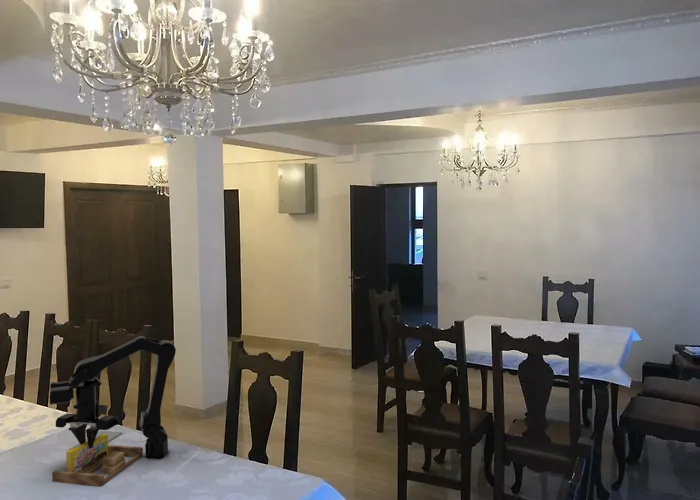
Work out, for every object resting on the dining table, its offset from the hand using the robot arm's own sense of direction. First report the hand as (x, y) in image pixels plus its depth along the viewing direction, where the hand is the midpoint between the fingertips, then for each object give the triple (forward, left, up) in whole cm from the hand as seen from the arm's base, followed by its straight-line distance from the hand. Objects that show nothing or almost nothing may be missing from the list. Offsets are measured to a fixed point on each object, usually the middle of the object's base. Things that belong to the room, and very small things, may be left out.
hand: (87, 447), depth 181 cm
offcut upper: (-9, 0, -4) cm, 10 cm away
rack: (0, 0, -6) cm, 6 cm away
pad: (+11, -20, -6) cm, 24 cm away
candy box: (0, 0, -7) cm, 7 cm away
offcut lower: (-9, 0, -7) cm, 12 cm away
